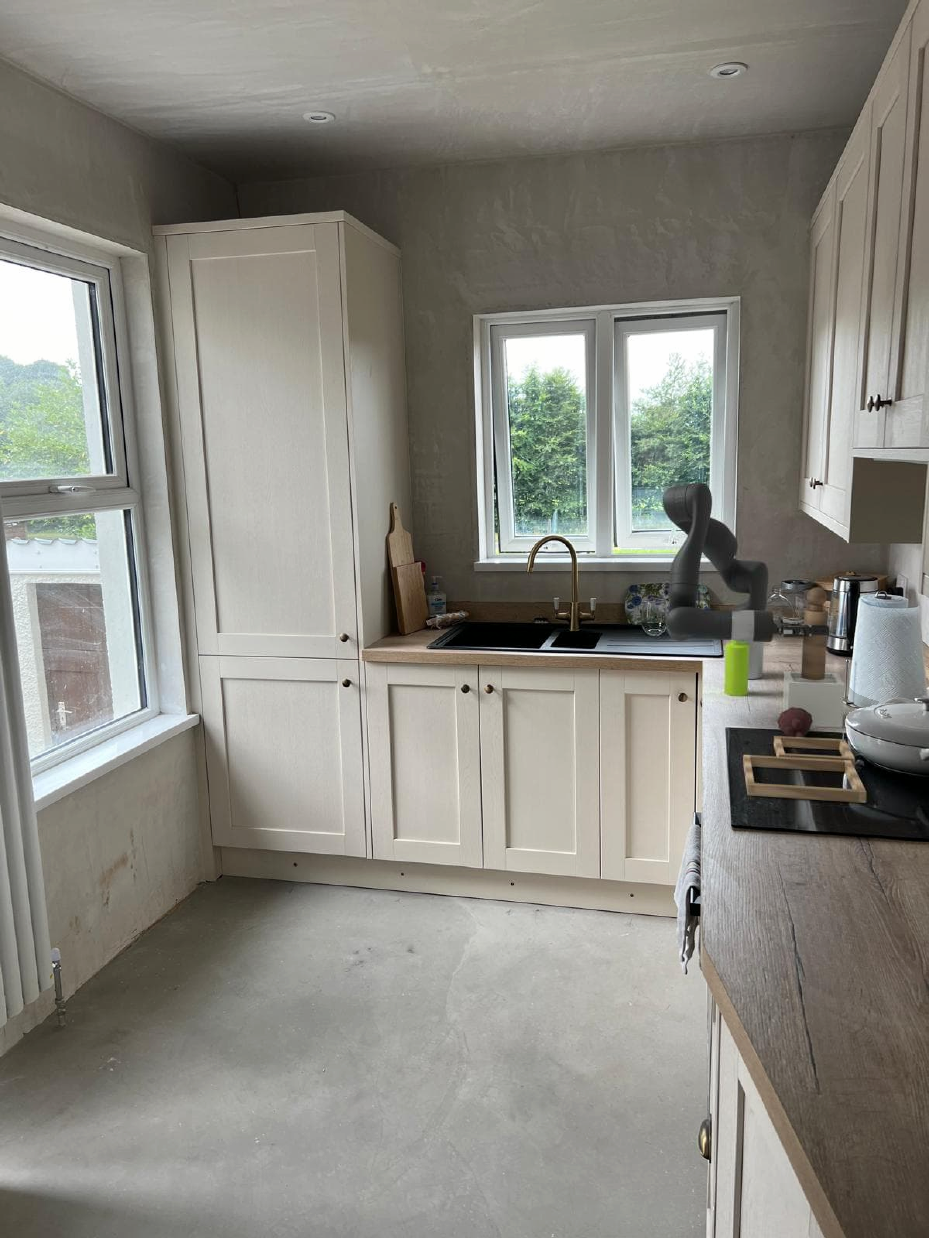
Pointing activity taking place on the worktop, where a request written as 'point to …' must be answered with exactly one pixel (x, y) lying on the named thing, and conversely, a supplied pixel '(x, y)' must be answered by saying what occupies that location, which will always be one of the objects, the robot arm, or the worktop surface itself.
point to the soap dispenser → (736, 668)
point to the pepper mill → (815, 637)
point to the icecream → (795, 722)
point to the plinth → (815, 697)
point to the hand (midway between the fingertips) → (827, 627)
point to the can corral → (815, 744)
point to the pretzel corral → (804, 791)
